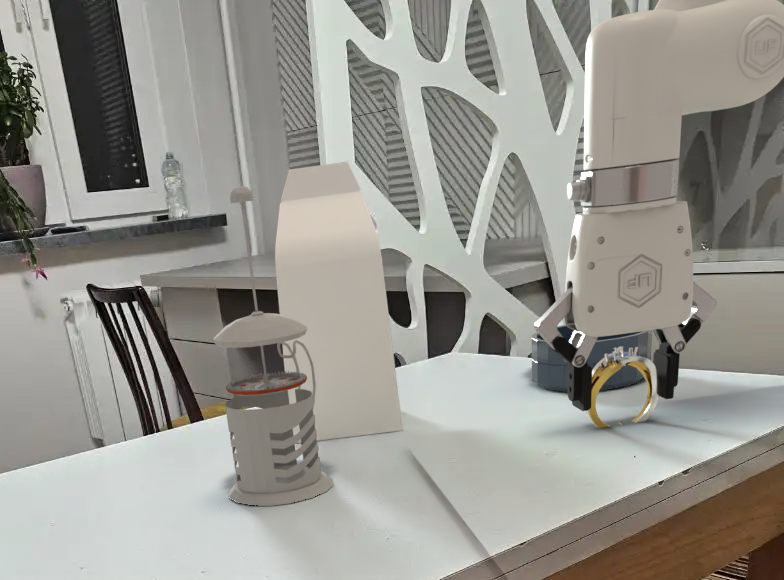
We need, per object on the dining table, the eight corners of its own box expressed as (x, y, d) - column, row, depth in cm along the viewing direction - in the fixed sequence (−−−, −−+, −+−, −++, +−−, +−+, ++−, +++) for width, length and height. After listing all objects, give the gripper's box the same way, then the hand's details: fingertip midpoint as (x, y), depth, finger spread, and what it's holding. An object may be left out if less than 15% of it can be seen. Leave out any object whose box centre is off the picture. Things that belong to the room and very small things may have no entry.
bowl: (622, 362, 113) (623, 316, 111) (669, 382, 101) (672, 331, 99) (518, 377, 113) (517, 331, 110) (553, 398, 101) (553, 347, 99)
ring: (591, 443, 84) (592, 355, 80) (578, 435, 87) (579, 349, 83) (664, 433, 84) (669, 344, 81) (649, 425, 87) (653, 339, 84)
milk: (291, 443, 97) (256, 173, 86) (291, 419, 107) (260, 174, 96) (402, 430, 97) (382, 155, 85) (392, 406, 107) (373, 159, 95)
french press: (206, 502, 82) (153, 197, 71) (275, 464, 91) (237, 187, 80) (298, 509, 77) (256, 182, 66) (361, 468, 86) (334, 173, 75)
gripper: (542, 204, 73) (542, 424, 81) (754, 175, 73) (733, 397, 81) (515, 203, 79) (517, 406, 87) (709, 177, 80) (694, 381, 88)
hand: (621, 400), depth 84 cm, fingers closed on ring, 7 cm apart
